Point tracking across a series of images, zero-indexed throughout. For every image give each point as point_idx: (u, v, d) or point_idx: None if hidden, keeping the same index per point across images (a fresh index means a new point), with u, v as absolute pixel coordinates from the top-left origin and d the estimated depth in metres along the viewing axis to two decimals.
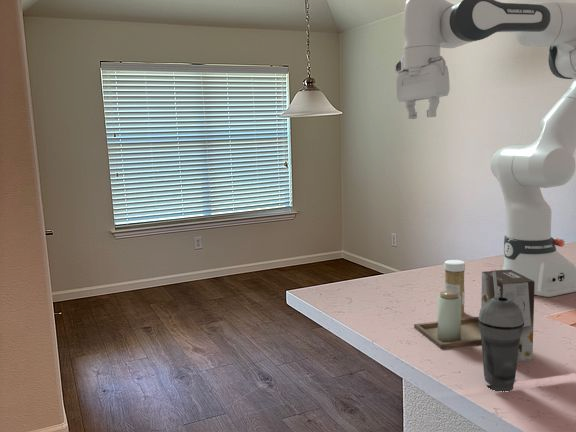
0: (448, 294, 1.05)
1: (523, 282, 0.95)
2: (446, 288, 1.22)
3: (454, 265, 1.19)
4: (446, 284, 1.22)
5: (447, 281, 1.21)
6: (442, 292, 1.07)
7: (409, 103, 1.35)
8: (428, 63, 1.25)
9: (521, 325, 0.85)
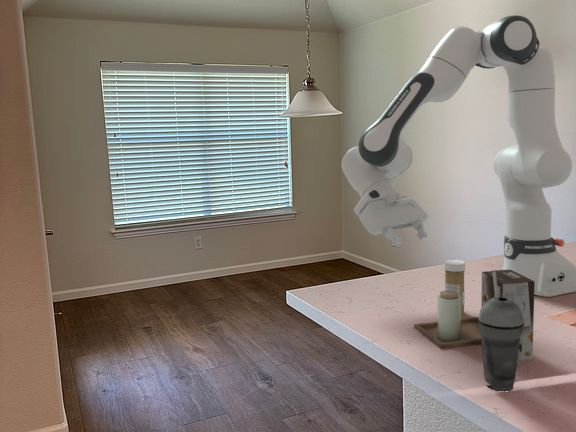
0: (448, 294, 1.05)
1: (523, 282, 0.95)
2: (446, 288, 1.22)
3: (454, 265, 1.19)
4: (446, 284, 1.22)
5: (447, 281, 1.21)
6: (442, 292, 1.07)
7: None
8: None
9: (521, 325, 0.85)
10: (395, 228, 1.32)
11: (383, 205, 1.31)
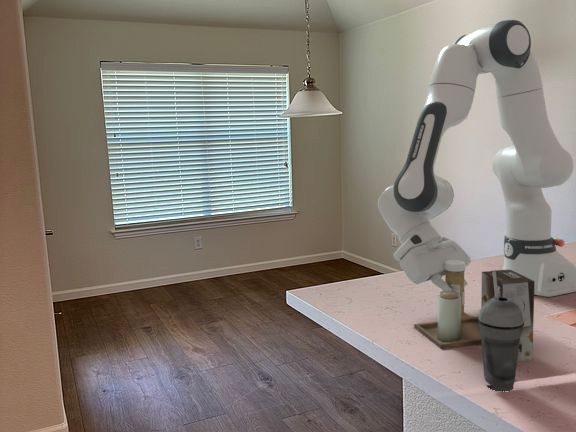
0: (448, 294, 1.05)
1: (523, 282, 0.95)
2: None
3: (454, 265, 1.19)
4: None
5: (447, 281, 1.21)
6: (442, 292, 1.07)
7: None
8: None
9: (521, 325, 0.85)
10: None
11: (425, 251, 1.23)
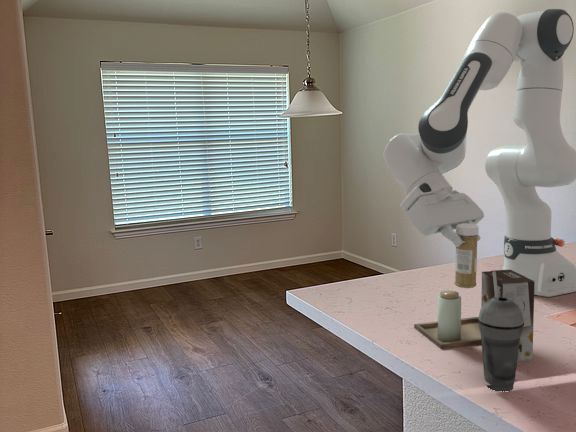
0: (448, 294, 1.05)
1: (523, 282, 0.95)
2: (457, 253, 1.12)
3: (467, 228, 1.09)
4: (457, 250, 1.11)
5: None
6: (442, 292, 1.07)
7: None
8: None
9: (521, 325, 0.85)
10: None
11: (435, 201, 1.12)
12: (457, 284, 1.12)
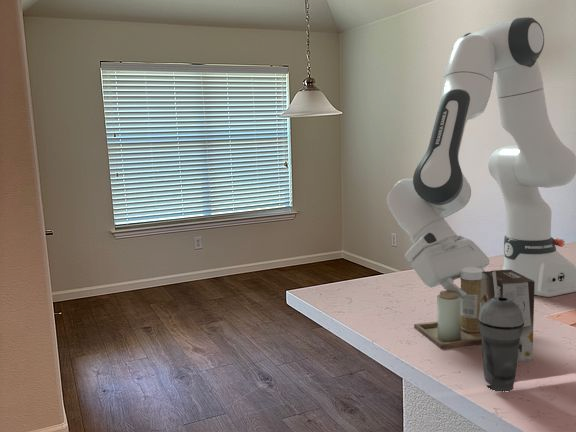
0: (448, 294, 1.05)
1: (523, 282, 0.95)
2: None
3: (471, 273, 1.08)
4: None
5: None
6: (442, 292, 1.07)
7: None
8: None
9: (521, 325, 0.85)
10: (454, 277, 1.13)
11: (440, 251, 1.11)
12: (462, 328, 1.11)
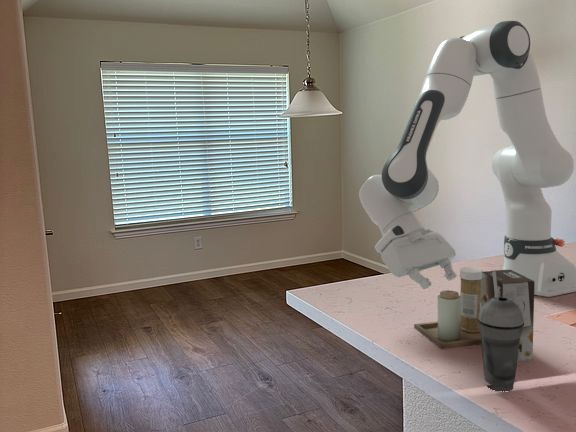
0: (448, 294, 1.05)
1: (523, 282, 0.95)
2: (461, 298, 1.11)
3: (471, 273, 1.08)
4: (462, 294, 1.11)
5: (463, 291, 1.10)
6: (442, 292, 1.07)
7: None
8: None
9: (521, 325, 0.85)
10: (421, 268, 1.18)
11: (408, 242, 1.17)
12: (462, 328, 1.11)
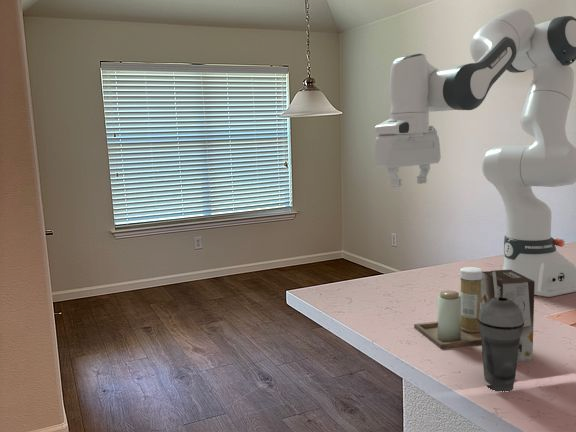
0: (448, 294, 1.05)
1: (523, 282, 0.95)
2: (461, 298, 1.11)
3: (471, 273, 1.08)
4: (462, 294, 1.11)
5: (463, 291, 1.10)
6: (442, 292, 1.07)
7: None
8: None
9: (521, 325, 0.85)
10: None
11: (405, 140, 1.19)
12: (462, 328, 1.11)
